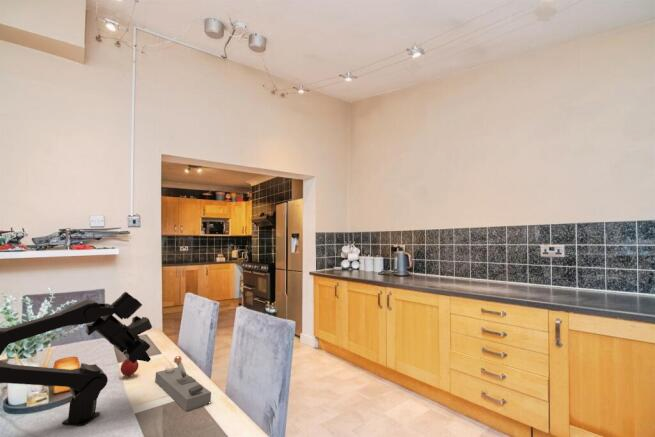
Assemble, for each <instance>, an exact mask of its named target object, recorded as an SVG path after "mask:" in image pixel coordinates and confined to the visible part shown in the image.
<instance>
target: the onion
mask: <svg viewBox="0 0 655 437" xmlns="http://www.w3.org/2000/svg"><path fill="white" fill-rule="evenodd" d="M138 361H139V360H137V361H136V362H135V363H132V362H131V361H129V360H128V359H127V358H126V359H125V360H124V361H123V362H122V363H121V365H120V372H121V374H123V376H125V377H127V378H130V377H131V376H132V375H134V374H135V373H136V372H137V370H138V369H139V362H138Z"/></svg>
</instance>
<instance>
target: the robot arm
mask: <svg viewBox="0 0 655 437" xmlns="http://www.w3.org/2000/svg"><path fill="white" fill-rule="evenodd" d="M142 306H143V304H142V303H141V301H139V300H138V299H137V298H135V297H134V296H132V295H131V294H130V293H129V292H127V291H124V292H123V293H122V294H120V296H119V297H118V298H117V299H115V300H114V301H113V302H112V303H111V304H110V303H104V302H103V303H101V302H97V301H96V300H93V299H85V300H83V301H80V302H78V303H76V304H73V305H71V306H69V307H68V308H66V309H64V310H62V311H60V312H57V313H53V314H49V315H46V316H45V315H44V316H42V317H39V318H35V319H32V320H28V321H25V322H21V323H18V324H14V325H11V326H8V327H2V328H1V327H0V356H1V355H2V354H3V352H4V350H6V348H8V346H9V345H10V344H13V343H16V342H20V341H22V340H26V339H28V338H32V337H36V336H39V335H42V334H45V333H48V332H51V331H55V330H58V329H61V328H64V327H69V326H80V325H85V326H86V329H85V334H87V335H88V336H91V335H92V334H93V333H94V332H96V333H98V334H99V335H100V336H101V337H103V338H104V339H105V340H106V341H108V342H109V343H110V344H111V345H113V346H114V347H115V349H116V350H118V351H120V352H121V353H123V355H124V356H125V358H126V359H128V360H129V361H131V362H132V363H135V362H136V361H141V362H147V363H149V362H150V361H151V357H150V355H149V354H148V352H147V351H148V350H149V349H150V347H151V344H149V343H148V342H147V341H145V340H144V339H142V338H140V335H141V334H143V333H145V332H146V331H150V330H151V329H152V328H153V325H152V323H151V320H150V319H149V317H146V316H142V317H139V316H138V315H135V316H134V317H132V316H133V315H134V314H135V313H136V312H137V311H138V310H139V309H140V308H141V307H142ZM114 315H116V317H115V316H114ZM117 317H118V318H119V319H120V320H123V319H124V320H126V319H127V320H129V318H130V317H132V319H131V320H132V321H131V323H130V324H129V325H126V324H125V323H123V322H121V321H120V320H119V319H118V318H117ZM0 384H13V385H15V384H16V385H30V386H31V385H32V386H45V387H46V386H48V387H66V388H69V390H70V394H71V395H72V398H71V400H70V401H69V407H68V408H69V409H68V417H67V418H66V419H65V420H63V421H62V422H61V424H62V425H72V426H86V425H87V424H88V423H90V422H91V421H93V420H94V419H95V418H97V417H98V416H100V415H101V412H98V411H96V410H97V402H98V398H99V395H100V393H101V391H103V389H104V388H105V387H106V386H107V384H108V376H107V374H106V373H105V372H104V370H103V369H102V368H101V367H99V366H98V365H97V363H93V364H87V363H80V367H78V368H74V369H64V368H55V367H44V366H32V365H20V364H13V363H12V364H11V363H7V362H5V361H3V360H0Z"/></svg>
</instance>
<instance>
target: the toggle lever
mask: <svg viewBox="0 0 655 437" xmlns="http://www.w3.org/2000/svg"><path fill="white" fill-rule="evenodd" d="M173 363H175V364H176V365H177V367H178V368H179V371H180V373H181V375H182V377H183V378H184V377H186V376H187V374H188V373H187V371H186V369H185V366H184V365H183V362H182V357H181V356H180V355H177V356H175V357H174V359H173Z"/></svg>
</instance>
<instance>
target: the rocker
mask: <svg viewBox="0 0 655 437" xmlns="http://www.w3.org/2000/svg"><path fill="white" fill-rule="evenodd" d="M200 384H201V383H200ZM200 384H199V385H197V386H195V387H192V388H190V389H189V393H190V394H192V395H193V394H195V393H197V392H199V391H201V390H203V387H204V386H203V385H202V384H201V385H202V386H203V387H202V386H201V385H200Z"/></svg>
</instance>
